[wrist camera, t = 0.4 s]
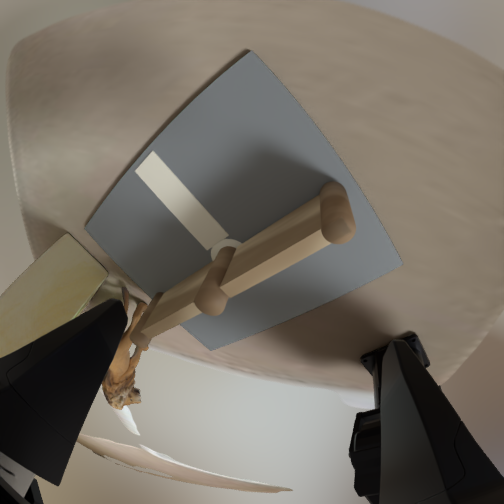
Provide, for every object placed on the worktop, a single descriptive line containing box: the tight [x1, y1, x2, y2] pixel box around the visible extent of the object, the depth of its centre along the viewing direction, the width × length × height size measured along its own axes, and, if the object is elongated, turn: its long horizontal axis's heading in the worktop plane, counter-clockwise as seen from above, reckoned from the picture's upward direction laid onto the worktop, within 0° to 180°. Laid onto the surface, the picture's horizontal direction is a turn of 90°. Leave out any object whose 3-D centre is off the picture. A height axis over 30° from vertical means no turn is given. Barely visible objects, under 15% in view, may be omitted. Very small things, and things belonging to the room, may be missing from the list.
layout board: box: [84, 50, 403, 351], centre depth 22 cm, size 18×22×1 cm
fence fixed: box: [129, 246, 236, 348], centre depth 23 cm, size 2×11×6 cm, turn 130°
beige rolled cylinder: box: [220, 181, 356, 298], centre depth 18 cm, size 2×9×5 cm, turn 130°
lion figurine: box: [102, 287, 149, 410], centre depth 28 cm, size 15×5×9 cm, turn 173°
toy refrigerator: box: [0, 233, 108, 358], centre depth 20 cm, size 8×7×21 cm
